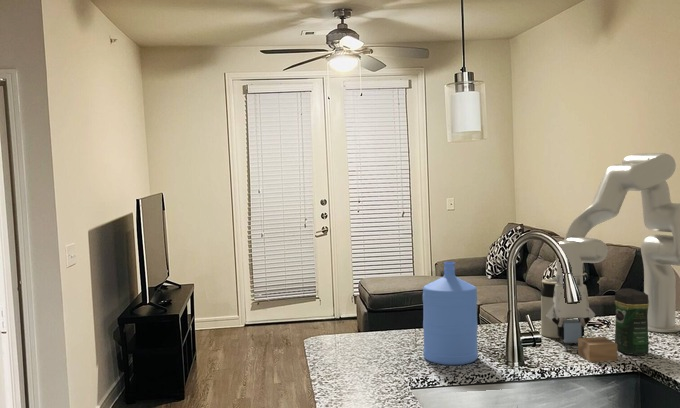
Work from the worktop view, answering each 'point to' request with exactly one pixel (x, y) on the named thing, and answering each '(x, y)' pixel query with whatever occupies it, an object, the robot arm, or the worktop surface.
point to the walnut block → (597, 349)
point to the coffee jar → (631, 321)
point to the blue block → (571, 330)
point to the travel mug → (547, 294)
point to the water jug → (450, 320)
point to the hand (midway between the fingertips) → (570, 338)
